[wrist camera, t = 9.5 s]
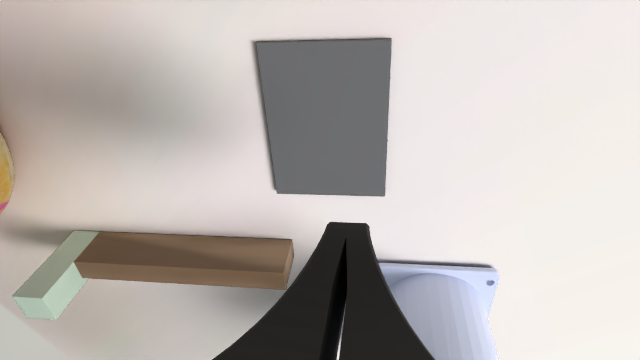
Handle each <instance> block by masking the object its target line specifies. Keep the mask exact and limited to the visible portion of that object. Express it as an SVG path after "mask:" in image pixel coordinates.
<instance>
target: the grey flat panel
mask: <svg viewBox="0 0 640 360" xmlns="http://www.w3.org/2000/svg"><path fill="white" fill-rule="evenodd" d="M256 46H257V53H258V60H259V68H260V75H261V82H262V89H263V96H264V104H265V111H266V118H267V125H268V132H269V140H270V147H271V154H272V161H273V168H274V176H275V183H276V190H277V194H314V195H351V196H385V178H386V155H387V132H388V109H389V86H390V63H391V38H387V39H345V40H302V41H260V42H257V43H256Z"/></svg>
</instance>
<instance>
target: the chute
mask: <svg viewBox="0 0 640 360" xmlns="http://www.w3.org/2000/svg"><path fill="white" fill-rule="evenodd" d="M293 258H294V252H293V244H292V240H289V239H265V238H241V237H217V236H193V235H169V234H145V233H121V232H97V231H73V232H72V233H71V234H70V236H69V237H68V238H67V239H66V240H65V241H64V242H63V243H62V244H61V245H60V246H59V247H58V248H57V249H56V250H55V251H54V252H53V253H52V255H51V256H50V257H49V258H48V259H47V260H46V261H45V262H44V263H43V264H42V265H41V266H40V267H39V268H38V269H37V270H36V271H35V272H34V274H33V275H32V276H31V277H30V278H29V279H28V280H27V281H26V282H25V283H24V284H23V285H22V286H21V287H20V288H19V289H18V290H17V291H16V293H15V294H14V295H13V296H12V298H13V299H14V300H15V302H16V303H17V305H18V306H19V307H20V309H21V310H22V312H23V313H24V314H25V316H26V317H27V318H34V319H48V320H56V319H57V318H58V317H59V316H60V314H61V313H62V312H63V310H64V309H65V308H66V307H67V305H68V304H69V303H70V302H71V300H72V299H73V298H74V296H75V295H76V294H77V293H78V291H79V290H80V289H81V288H82V286H83V285H84V284H85V282H86V281H87V280H88V279H89V278H92V279H110V280H127V281H144V282H161V283H178V284H195V285H212V286H230V287H247V288H264V289H281V290H286V287H287V282H288V278H289V274H290V270H291V266H292V262H293Z"/></svg>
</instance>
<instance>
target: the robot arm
mask: <svg viewBox="0 0 640 360" xmlns="http://www.w3.org/2000/svg"><path fill="white" fill-rule="evenodd" d="M499 278H500V275H499V272H498V271H497V270H496V269H494V268H481V267H460V266H439V265H418V264H397V263H378V261H377V258H376V255H375V252H374V249H373V245H372V241H371V237H370V231H369V226H368V225H367V224H366V223H342V222H330V223H329V224H327V227H326V229H325V232H324V234H323V236H322V238H321V240H320V242H319V243H318V245H317V247H316V249H315V251H314V252H313V254H312V255H311V257H310V259H309V260H308V262H307V264H306V265H305V267H304V268H303V269H302V271H301V272H300V274H299V275H298V276H297V278H296V279H295V281H294V282H293V283H292V285H291V286H290V287H289V288H288V290H287V291H286V292H285V293H284V295H283V296H282V297H281V298H280V299H279V300H278V302H277V303H276V304H275V305H274V306H273V307H272V308H271V309H270V310H269V311H268V312H267V313H266V314H265V315H264V316H263V317H262V318H261V319H260V320H259V321H258V322H257V323H256V324H255V325H254V326H253V327H252V328H251V329H250V330H248V331H247V332H246V333H245V334H244V335H243V336H242V337H240V338H239V339H238V340H237V341H236V342H235V343H233V344H232V345H231V346H230V347H228V348H227V349H226V350H224V351H223V352H222V353H220V354H219V355H218V356H216V357H215V358H214V359H212V360H336V358H337V351H338V345H339V339H340V333H341V327H342V321H343V316H344V310H345V316H344V325H343V333H342V341H341V349H340V357H339V360H499V357H498V353H497V349H496V346H495V342H494V338H493V335H492V331H491V327H490V323H489V320H488V317H489V314H490V310H491V306H492V303H493V299H494V296H495V292H496V288H497V285H498V281H499ZM488 280H491V281H488ZM345 304H346V307H345Z"/></svg>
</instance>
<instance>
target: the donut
mask: <svg viewBox="0 0 640 360" xmlns="http://www.w3.org/2000/svg"><path fill="white" fill-rule="evenodd" d="M14 180H15V174H14V167H13V160H12V157H11V155H10V152H9V149H8V147H7V144H6V141H5V140H4V138H3V136H2V134H1V133H0V214H1V213H2V211H3V210H4V208H5V207H6V205H7V204H8V202H9V199H10V196H11V194H12V191H13V186H14Z"/></svg>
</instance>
